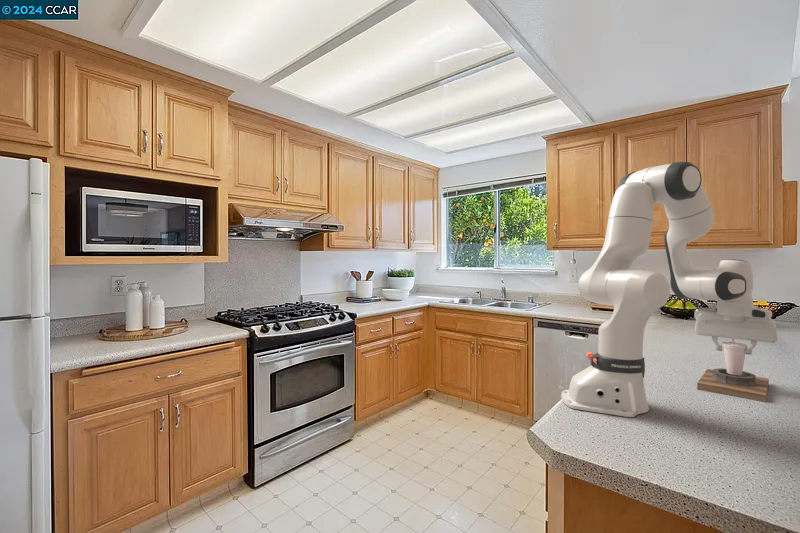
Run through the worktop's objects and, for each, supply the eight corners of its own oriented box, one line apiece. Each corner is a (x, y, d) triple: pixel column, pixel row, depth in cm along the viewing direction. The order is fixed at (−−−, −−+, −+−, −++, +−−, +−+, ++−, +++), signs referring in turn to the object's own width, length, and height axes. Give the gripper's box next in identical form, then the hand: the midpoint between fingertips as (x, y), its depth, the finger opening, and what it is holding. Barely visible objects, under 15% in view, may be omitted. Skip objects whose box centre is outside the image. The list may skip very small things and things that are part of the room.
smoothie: (737, 370, 129) (737, 328, 128) (753, 376, 123) (753, 332, 122) (716, 370, 130) (716, 328, 129) (731, 376, 123) (731, 332, 123)
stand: (766, 402, 113) (766, 386, 113) (697, 389, 124) (697, 375, 124) (768, 384, 128) (768, 370, 128) (707, 374, 140) (707, 361, 140)
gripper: (692, 307, 131) (692, 348, 131) (777, 313, 116) (776, 359, 117) (696, 306, 135) (695, 345, 136) (778, 311, 121) (777, 355, 121)
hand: (733, 352), depth 126 cm, fingers closed on smoothie, 6 cm apart
